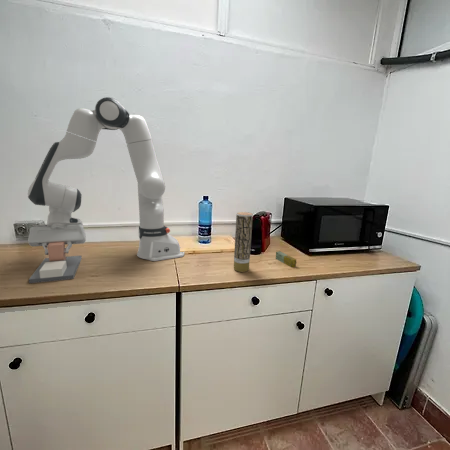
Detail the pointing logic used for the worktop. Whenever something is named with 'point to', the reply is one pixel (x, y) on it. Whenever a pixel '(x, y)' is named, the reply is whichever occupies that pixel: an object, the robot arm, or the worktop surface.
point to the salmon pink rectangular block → (56, 251)
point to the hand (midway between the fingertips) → (56, 253)
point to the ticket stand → (56, 270)
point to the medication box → (286, 259)
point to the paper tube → (242, 241)
